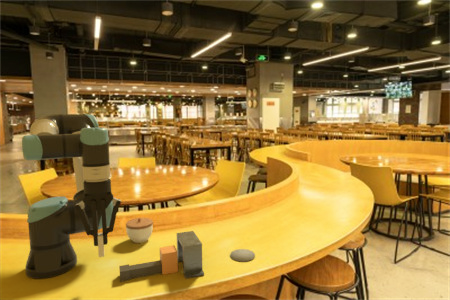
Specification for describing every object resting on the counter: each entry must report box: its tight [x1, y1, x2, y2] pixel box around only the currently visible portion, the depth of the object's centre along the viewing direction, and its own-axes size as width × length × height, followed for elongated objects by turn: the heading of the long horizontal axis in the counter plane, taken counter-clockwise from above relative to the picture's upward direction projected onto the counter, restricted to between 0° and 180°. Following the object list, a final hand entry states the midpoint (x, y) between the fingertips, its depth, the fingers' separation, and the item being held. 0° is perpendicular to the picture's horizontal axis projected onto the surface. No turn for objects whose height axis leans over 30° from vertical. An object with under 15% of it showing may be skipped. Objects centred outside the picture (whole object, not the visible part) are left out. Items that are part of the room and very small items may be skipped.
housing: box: [176, 230, 205, 280], centre depth 101 cm, size 16×6×10 cm, turn 21°
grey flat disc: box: [229, 248, 256, 263], centre depth 109 cm, size 9×9×1 cm
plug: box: [119, 245, 179, 282], centre depth 97 cm, size 5×18×7 cm, turn 110°
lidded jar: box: [125, 217, 154, 244], centre depth 123 cm, size 11×11×9 cm
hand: (101, 254), depth 91 cm, fingers closed
